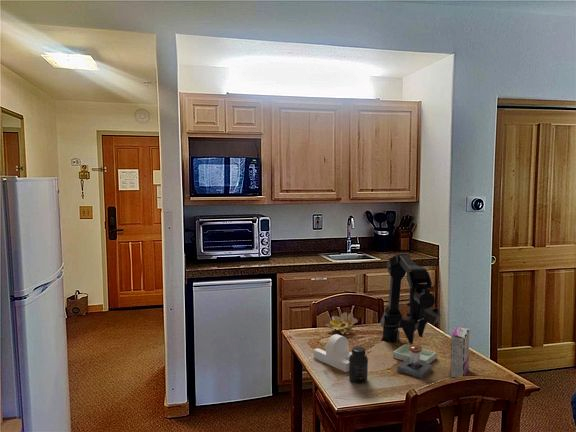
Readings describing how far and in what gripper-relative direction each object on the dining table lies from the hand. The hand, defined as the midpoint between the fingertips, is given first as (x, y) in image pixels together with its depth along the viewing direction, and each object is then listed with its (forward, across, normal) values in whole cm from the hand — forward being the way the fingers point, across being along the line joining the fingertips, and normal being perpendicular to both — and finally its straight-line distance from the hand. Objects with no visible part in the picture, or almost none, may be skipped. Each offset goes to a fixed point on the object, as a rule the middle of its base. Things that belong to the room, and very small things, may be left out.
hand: (415, 340), depth 162 cm
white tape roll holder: (+13, -12, +28) cm, 33 cm away
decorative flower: (+12, +18, +46) cm, 51 cm away
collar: (+12, 0, 0) cm, 12 cm away
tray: (+12, +11, +5) cm, 17 cm away
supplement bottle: (+12, -21, +13) cm, 28 cm away
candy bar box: (+12, +9, -14) cm, 21 cm away
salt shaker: (+12, 0, 0) cm, 12 cm away
